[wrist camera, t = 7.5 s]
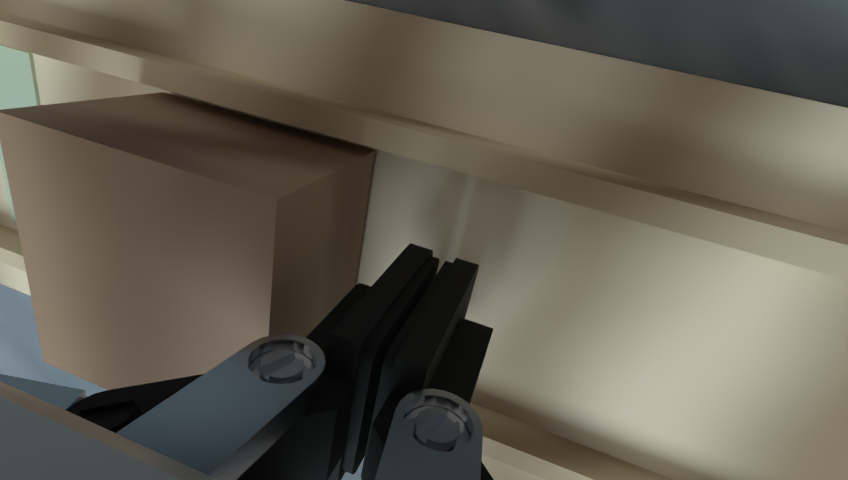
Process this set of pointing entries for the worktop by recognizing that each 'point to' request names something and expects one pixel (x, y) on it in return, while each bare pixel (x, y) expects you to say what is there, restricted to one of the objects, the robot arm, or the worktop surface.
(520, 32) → the worktop surface
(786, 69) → the worktop surface
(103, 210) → the walnut slider
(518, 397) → the birch rail board
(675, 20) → the worktop surface
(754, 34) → the worktop surface
